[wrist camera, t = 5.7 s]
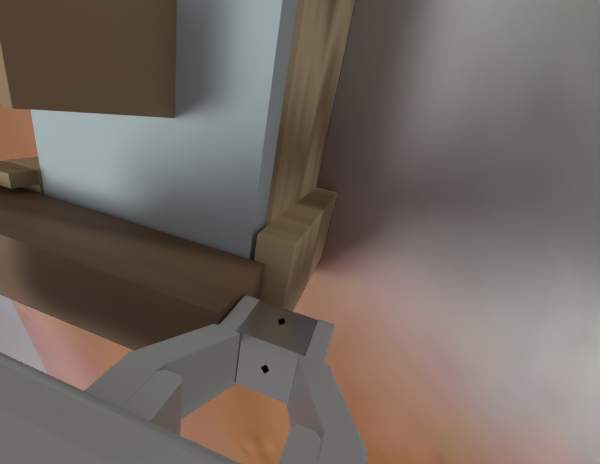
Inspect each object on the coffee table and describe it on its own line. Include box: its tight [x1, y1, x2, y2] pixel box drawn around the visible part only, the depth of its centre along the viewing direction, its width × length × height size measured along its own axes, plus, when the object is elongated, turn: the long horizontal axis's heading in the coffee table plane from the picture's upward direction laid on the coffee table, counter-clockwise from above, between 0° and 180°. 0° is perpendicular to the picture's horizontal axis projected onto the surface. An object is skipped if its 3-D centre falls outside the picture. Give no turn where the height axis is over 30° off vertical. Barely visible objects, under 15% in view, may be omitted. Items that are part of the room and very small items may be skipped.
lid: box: [0, 0, 298, 261], centre depth 8 cm, size 18×10×6 cm, turn 169°
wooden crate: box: [0, 0, 355, 311], centre depth 14 cm, size 18×13×10 cm
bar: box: [0, 185, 265, 351], centre depth 11 cm, size 2×15×3 cm, turn 79°
